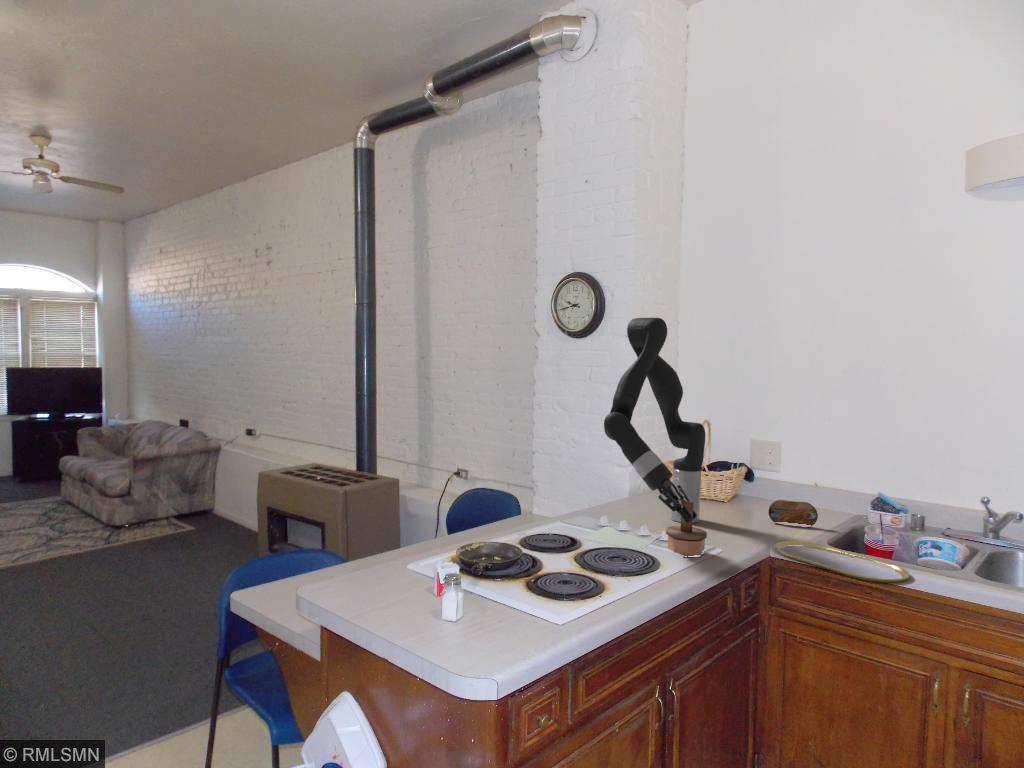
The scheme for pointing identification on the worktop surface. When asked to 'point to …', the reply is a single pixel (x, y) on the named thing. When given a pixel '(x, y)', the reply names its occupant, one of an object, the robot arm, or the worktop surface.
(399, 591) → the worktop surface
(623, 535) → the sage mat
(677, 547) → the terracotta bowl
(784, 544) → the serving platter
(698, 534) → the walnut lid
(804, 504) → the tin
